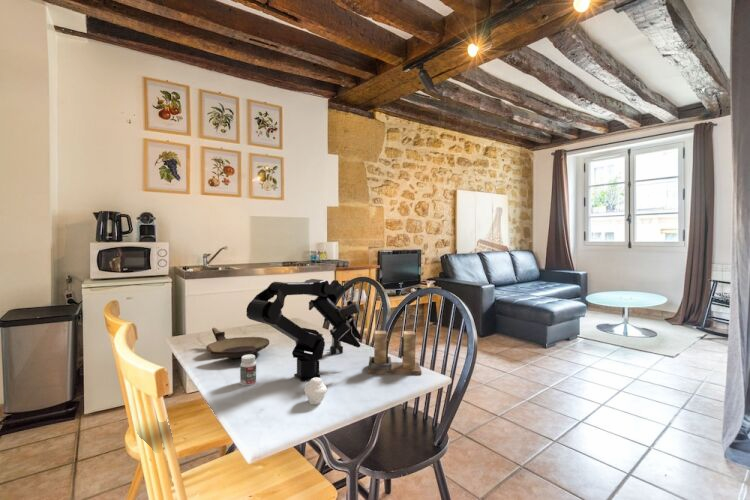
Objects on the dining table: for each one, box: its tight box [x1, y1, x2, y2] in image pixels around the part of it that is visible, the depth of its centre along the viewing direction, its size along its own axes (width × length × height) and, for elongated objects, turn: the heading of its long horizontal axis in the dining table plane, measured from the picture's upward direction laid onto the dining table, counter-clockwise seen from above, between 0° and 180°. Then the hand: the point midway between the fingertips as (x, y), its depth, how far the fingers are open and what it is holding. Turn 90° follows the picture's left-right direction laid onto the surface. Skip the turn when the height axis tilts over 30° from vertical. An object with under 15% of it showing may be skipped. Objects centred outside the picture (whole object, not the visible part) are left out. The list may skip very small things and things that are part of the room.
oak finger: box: [373, 330, 389, 364], centre depth 124 cm, size 5×4×12 cm
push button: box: [325, 327, 344, 355], centre depth 140 cm, size 7×5×10 cm
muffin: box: [304, 377, 328, 406], centre depth 99 cm, size 6×6×7 cm
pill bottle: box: [239, 354, 257, 387], centre depth 111 cm, size 5×5×8 cm
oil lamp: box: [206, 327, 270, 359], centre depth 138 cm, size 22×30×8 cm
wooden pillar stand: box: [367, 330, 422, 376], centre depth 124 cm, size 18×8×13 cm, turn 90°
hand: (360, 342), depth 123 cm, fingers open, 9 cm apart
